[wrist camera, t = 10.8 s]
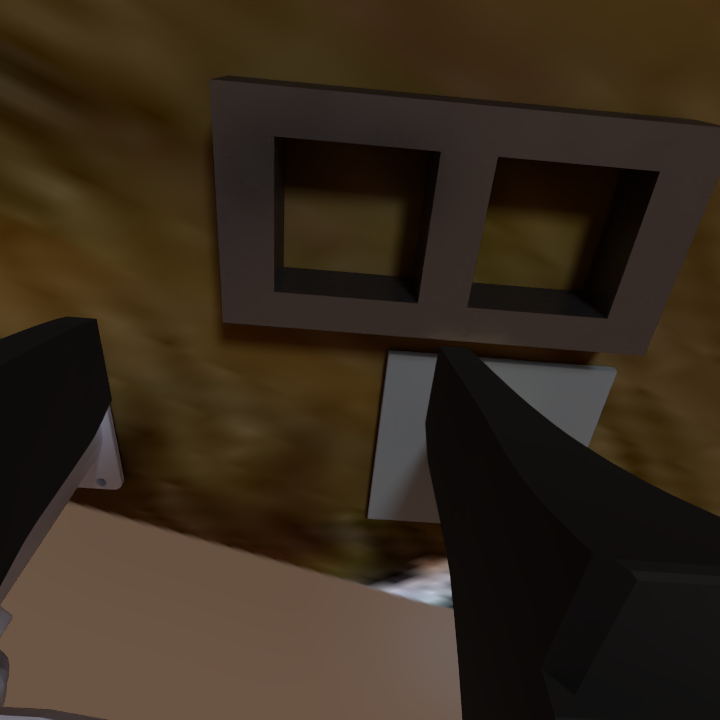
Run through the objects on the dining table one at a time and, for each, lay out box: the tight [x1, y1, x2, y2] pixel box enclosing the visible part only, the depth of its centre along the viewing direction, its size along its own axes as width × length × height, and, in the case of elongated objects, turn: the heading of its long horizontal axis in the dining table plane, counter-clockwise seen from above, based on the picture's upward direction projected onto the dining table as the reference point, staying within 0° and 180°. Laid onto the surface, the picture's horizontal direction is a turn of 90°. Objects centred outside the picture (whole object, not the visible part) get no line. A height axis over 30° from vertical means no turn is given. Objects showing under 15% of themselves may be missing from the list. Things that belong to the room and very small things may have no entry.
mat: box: [368, 350, 617, 523], centre depth 25 cm, size 10×10×1 cm
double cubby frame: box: [209, 76, 720, 356], centre depth 19 cm, size 16×8×2 cm, turn 85°
